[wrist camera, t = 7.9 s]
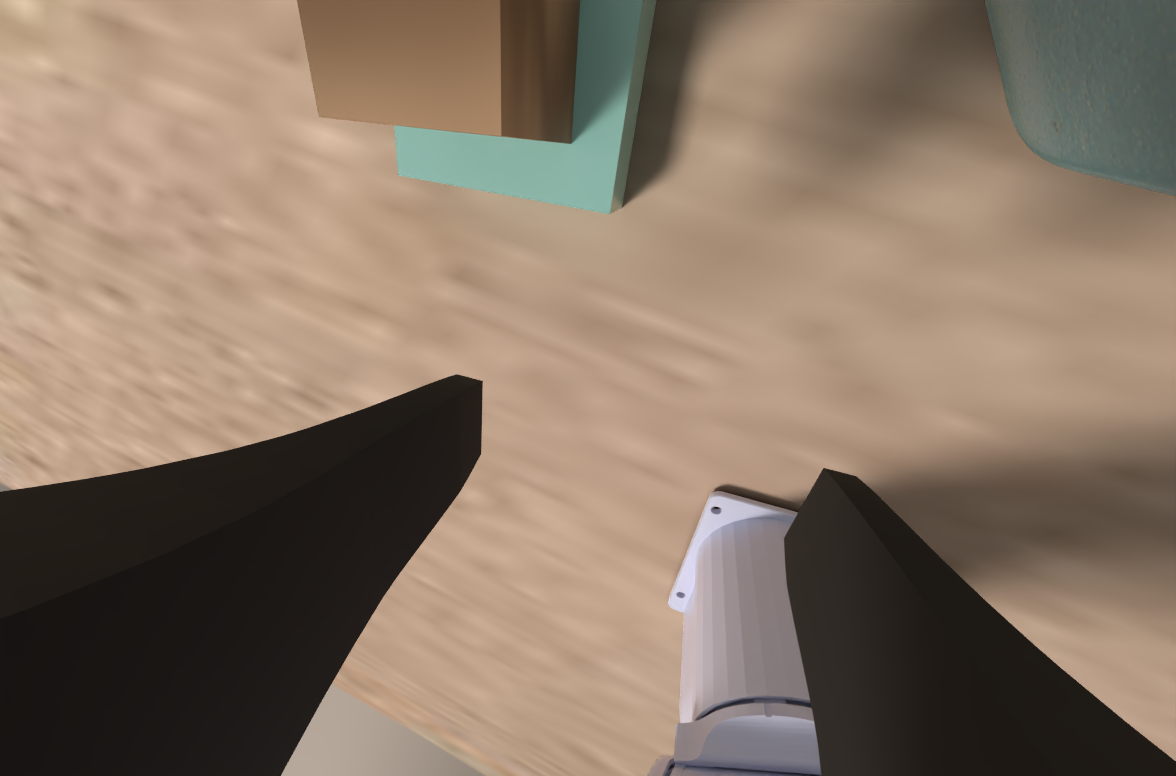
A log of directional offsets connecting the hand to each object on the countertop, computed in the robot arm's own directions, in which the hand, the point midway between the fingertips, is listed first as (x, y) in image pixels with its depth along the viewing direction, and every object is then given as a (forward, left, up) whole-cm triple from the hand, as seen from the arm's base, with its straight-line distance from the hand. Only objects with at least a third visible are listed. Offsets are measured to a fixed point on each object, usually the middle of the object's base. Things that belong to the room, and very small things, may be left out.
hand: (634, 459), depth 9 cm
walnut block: (+8, +7, -8) cm, 13 cm away
